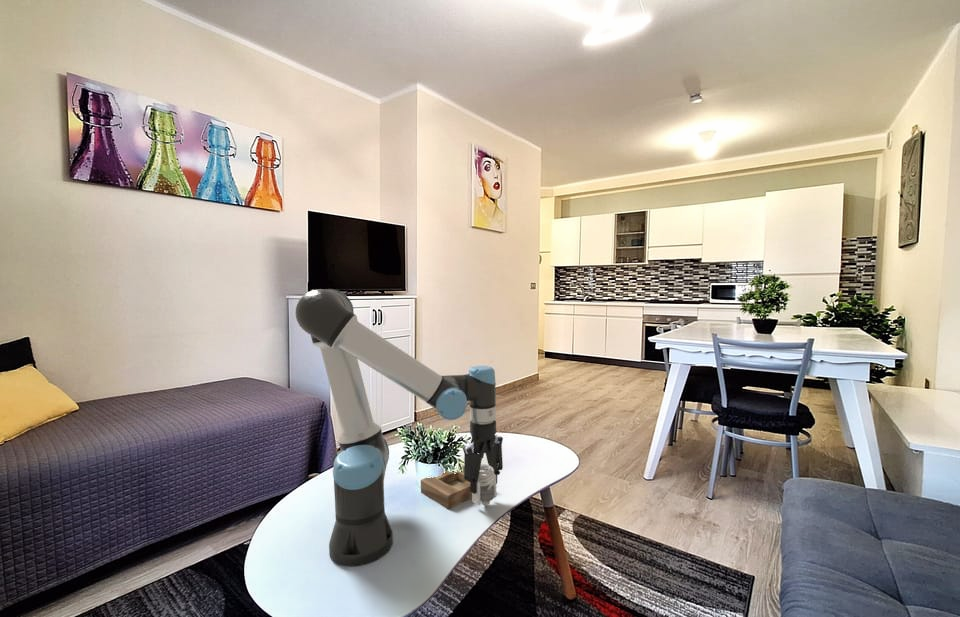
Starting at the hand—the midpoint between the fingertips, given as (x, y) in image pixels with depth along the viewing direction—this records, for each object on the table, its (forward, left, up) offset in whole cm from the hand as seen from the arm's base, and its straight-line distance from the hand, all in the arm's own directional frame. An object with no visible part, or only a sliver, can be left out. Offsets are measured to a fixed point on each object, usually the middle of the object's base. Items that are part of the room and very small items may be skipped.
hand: (484, 499), depth 121 cm
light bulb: (0, 0, -2) cm, 2 cm away
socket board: (-1, +13, -2) cm, 13 cm away
